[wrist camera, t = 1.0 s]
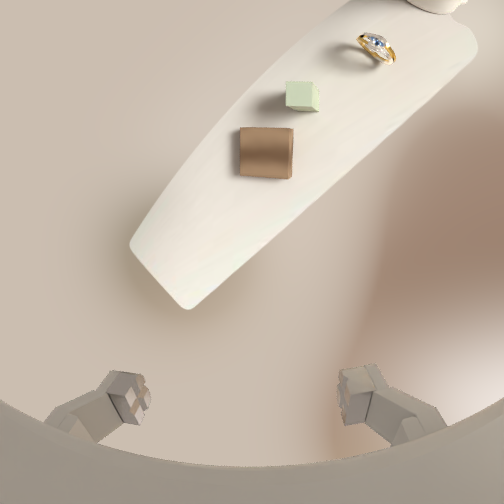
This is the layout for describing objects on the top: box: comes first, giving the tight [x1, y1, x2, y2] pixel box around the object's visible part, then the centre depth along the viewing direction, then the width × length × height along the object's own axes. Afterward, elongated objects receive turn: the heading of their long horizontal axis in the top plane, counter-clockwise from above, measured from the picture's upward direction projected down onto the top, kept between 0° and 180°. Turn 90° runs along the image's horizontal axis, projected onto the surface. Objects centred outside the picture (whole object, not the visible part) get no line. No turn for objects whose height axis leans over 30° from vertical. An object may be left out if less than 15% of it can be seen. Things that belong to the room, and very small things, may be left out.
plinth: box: [240, 127, 293, 179], centre depth 47 cm, size 9×9×3 cm
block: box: [286, 82, 319, 112], centre depth 38 cm, size 4×4×8 cm
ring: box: [356, 33, 396, 66], centre depth 30 cm, size 7×3×8 cm, turn 50°
